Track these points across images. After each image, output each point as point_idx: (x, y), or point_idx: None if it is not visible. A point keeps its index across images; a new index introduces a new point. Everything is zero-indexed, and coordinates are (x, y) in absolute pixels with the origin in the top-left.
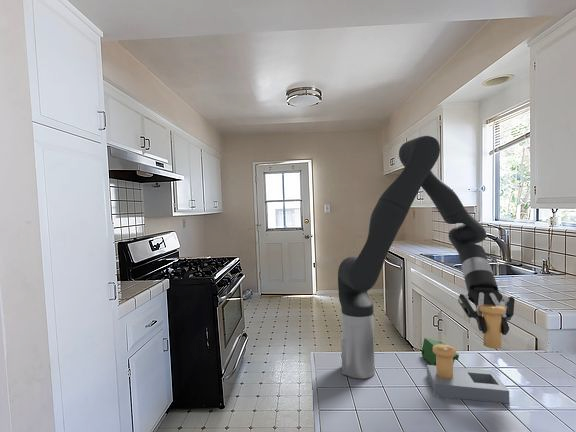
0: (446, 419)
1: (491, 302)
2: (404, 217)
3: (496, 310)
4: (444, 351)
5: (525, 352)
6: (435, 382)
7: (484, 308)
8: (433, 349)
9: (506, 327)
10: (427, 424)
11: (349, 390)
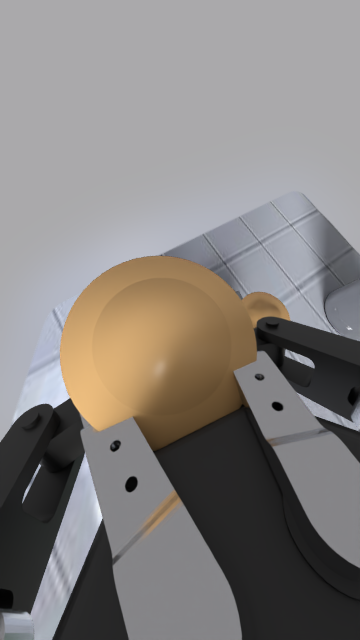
0: (203, 250)
1: (177, 469)
2: None
3: (132, 261)
4: (257, 297)
5: None
6: (239, 296)
7: (209, 272)
8: (281, 305)
9: None
10: (218, 232)
11: (321, 258)
